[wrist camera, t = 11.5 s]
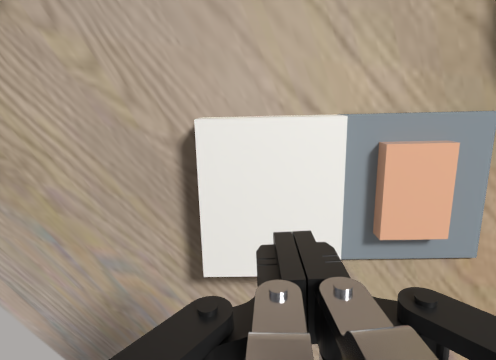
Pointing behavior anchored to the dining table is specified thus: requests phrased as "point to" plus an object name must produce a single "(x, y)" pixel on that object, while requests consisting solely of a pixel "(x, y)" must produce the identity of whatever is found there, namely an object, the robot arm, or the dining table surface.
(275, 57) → the dining table surface
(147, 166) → the dining table surface
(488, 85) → the dining table surface
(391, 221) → the terracotta tile
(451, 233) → the slate mat
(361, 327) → the robot arm
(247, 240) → the white flat block
